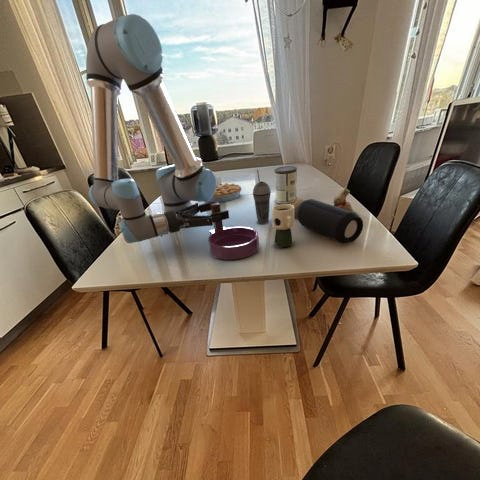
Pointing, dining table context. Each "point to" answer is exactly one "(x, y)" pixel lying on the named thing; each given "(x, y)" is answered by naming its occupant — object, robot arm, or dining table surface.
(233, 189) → the pie
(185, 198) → the robot arm
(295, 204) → the bread roll
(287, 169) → the coffee can
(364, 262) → the dining table surface
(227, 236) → the bowl
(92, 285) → the dining table surface
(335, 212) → the portable speaker
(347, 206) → the chocolate bunny
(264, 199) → the beverage cup
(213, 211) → the wooden stamp
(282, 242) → the character mug
